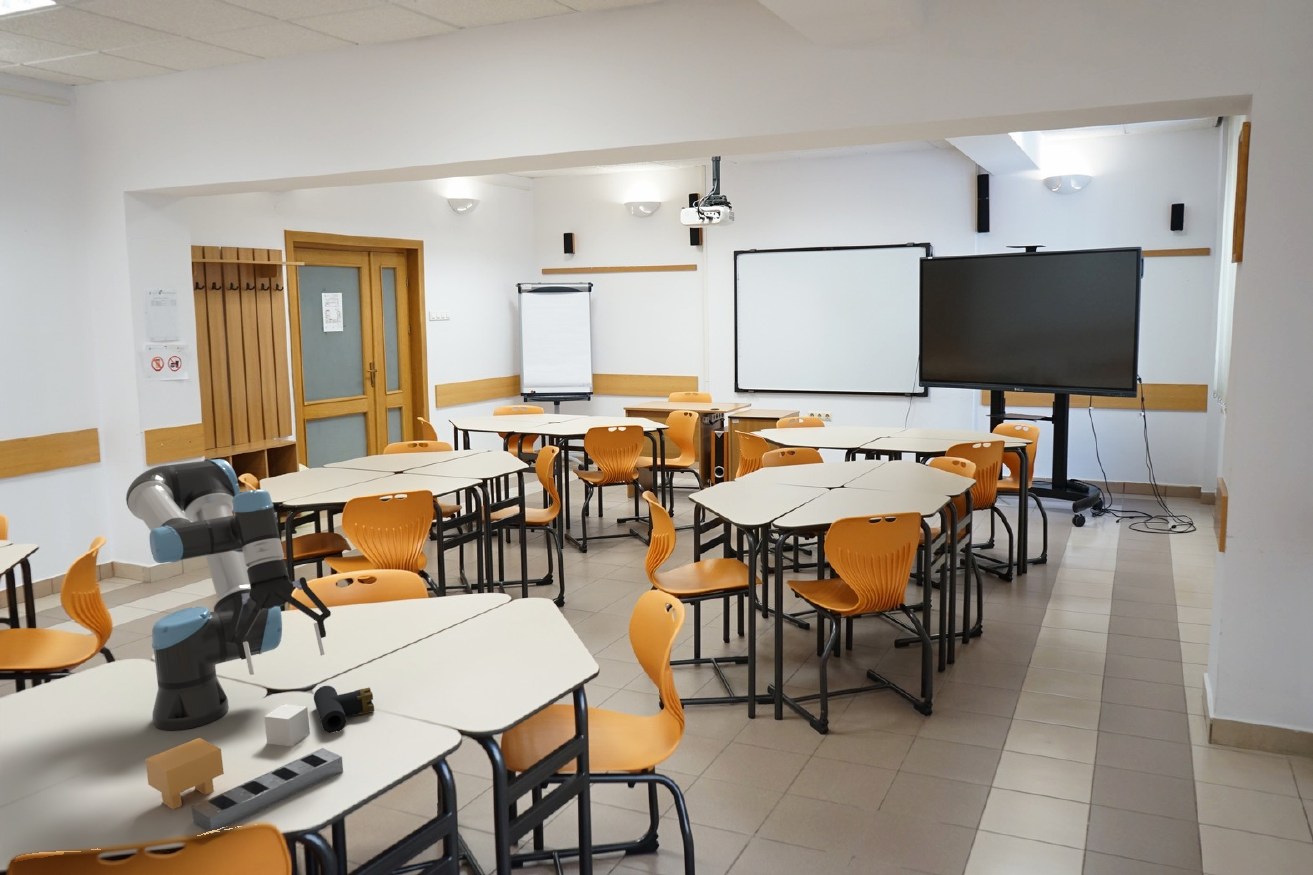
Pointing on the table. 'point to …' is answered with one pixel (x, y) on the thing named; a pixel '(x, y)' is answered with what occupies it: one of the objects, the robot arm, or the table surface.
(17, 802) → the table surface
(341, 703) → the pipe connector
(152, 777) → the tan notched block
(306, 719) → the white cube
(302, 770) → the rail
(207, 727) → the table surface
